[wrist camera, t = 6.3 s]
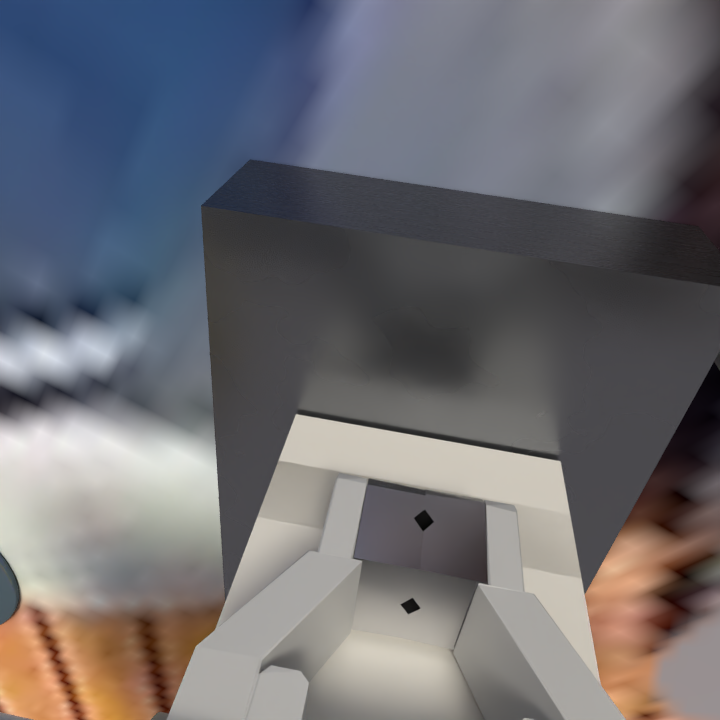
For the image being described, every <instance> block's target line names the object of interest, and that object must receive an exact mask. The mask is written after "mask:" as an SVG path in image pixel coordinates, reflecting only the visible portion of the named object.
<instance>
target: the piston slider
mask: <svg viewBox="0 0 720 720" xmlns="http://www.w3.org/2000/svg"><path fill="white" fill-rule="evenodd" d="M339 473H343V474H348V475H353V476H358V477H362V478H367V479H369V478H370V479H375V480H379V481H384V482H389V483H394V484H398V485H403V486H408V487H413V488H418V489H422V490H425V489H426V490H431V491H437V492H443V493H449V494H455V495H461V496H466V497H472V498H478V499H482V500H483V501H484V500H488V501H494V502H500V503H505V504H511V505H514V506H515V508H516V509H517V515H518V525H519V536H520V546H521V557H522V568H523V578H524V589H525V592H528V593H532V594H535V596H536V597H537V598H538V600H539V601H540V603H541V604H542V605H543V607H544V608H545V609H546V611H547V612H548V614H549V615H550V616H551V618H552V619H553V620H554V622H555V623H556V625H557V626H558V627H559V629H560V630H561V631H562V633H563V634H564V635H565V637H566V638H567V640H568V641H569V642H570V644H571V645H572V646H573V648H574V649H575V651H576V652H577V653H578V655H579V656H580V657H581V659H582V660H583V661H584V663H585V664H586V666H587V667H588V668H589V670H590V671H591V672H592V674H593V675H594V677H595V678H596V679H597V681H598V682H599V683H600V678H599V672H598V667H597V661H596V656H595V650H594V644H593V639H592V633H591V628H590V622H589V617H588V611H587V605H586V600H585V594H584V589H583V583H582V578H581V572H580V566H579V561H578V555H577V550H576V544H575V539H574V533H573V527H572V522H571V516H570V511H569V505H568V500H567V494H566V488H565V483H564V477H563V472H562V466H561V461H556V460H551V459H545V458H539V457H534V456H528V455H523V454H517V453H511V452H506V451H500V450H495V449H489V448H483V447H478V446H472V445H466V444H461V443H455V442H450V441H444V440H438V439H433V438H427V437H422V436H416V435H410V434H405V433H399V432H393V431H388V430H382V429H377V428H371V427H365V426H360V425H354V424H348V423H343V422H337V421H332V420H326V419H320V418H315V417H309V416H304V415H298V414H296V415H295V418H294V421H293V423H292V426H291V429H290V431H289V434H288V437H287V439H286V442H285V445H284V447H283V450H282V453H281V455H280V458H279V461H278V463H277V466H276V469H275V471H274V474H273V477H272V479H271V482H270V485H269V487H268V490H267V493H266V495H265V498H264V501H263V503H262V506H261V509H260V511H259V514H258V517H257V519H256V522H255V524H254V527H253V530H252V532H251V535H250V538H249V540H248V543H247V546H246V548H245V551H244V554H243V556H242V559H241V562H240V564H239V567H238V570H237V572H236V575H235V578H234V580H233V583H232V586H231V588H230V591H229V594H228V596H227V599H226V602H225V604H224V607H223V610H222V612H221V615H220V618H219V620H218V623H217V626H216V628H215V630H216V629H217V628H218V627H219V626H220V625H221V624H223V623H224V622H225V621H226V620H227V619H229V618H230V617H231V616H232V615H233V614H234V613H236V612H237V611H238V610H239V609H240V608H241V607H243V606H244V605H245V604H246V603H247V602H248V601H250V600H251V599H252V598H253V597H254V596H256V595H257V594H258V593H259V592H260V591H261V590H263V589H264V588H265V587H266V586H267V585H268V584H270V583H271V582H272V581H273V580H274V579H276V578H277V577H278V576H279V575H280V574H281V573H283V572H284V571H285V570H286V569H287V568H288V567H290V566H291V565H292V564H293V563H294V562H296V561H297V560H298V559H299V558H300V557H301V556H303V555H304V554H305V553H306V552H307V551H308V550H309V551H315V552H318V548H319V544H320V540H321V536H322V532H323V528H324V524H325V520H326V516H327V512H328V508H329V504H330V500H331V496H332V492H333V488H334V484H335V480H336V478H337V476H338V474H339ZM367 484H368V482H367ZM366 489H367V488H366ZM453 651H454V650H451V649H447V648H443V647H438V646H434V645H430V644H425V643H421V642H416V641H412V640H408V639H403V638H398V637H392V636H387V635H381V634H375V633H369V632H363V631H357V630H352V629H351V633H350V634H349V635H348V637H347V638H346V639H345V640H344V641H343V642H342V644H341V645H340V646H339V647H338V648H337V650H336V651H335V652H334V653H333V654H332V655H331V657H330V658H329V659H328V660H327V661H326V663H325V664H324V665H323V666H322V667H321V668H320V670H319V671H318V672H317V673H316V674H315V676H314V677H313V678H312V679H311V680H310V681H309V688H308V698H307V707H306V717H305V720H485V719H484V717H483V715H482V713H481V711H480V708H479V706H478V704H477V702H476V700H475V698H474V696H473V694H472V692H471V689H470V687H469V685H468V683H467V681H466V679H465V677H464V675H463V673H462V670H461V668H460V666H459V664H458V662H457V660H456V658H455V656H454V654H453ZM600 685H601V683H600ZM168 715H169V714H167V713H163V712H159V713H157V714H156V715H155V716H154V717H153V718H152V719H151V720H167V717H168Z"/></svg>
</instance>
